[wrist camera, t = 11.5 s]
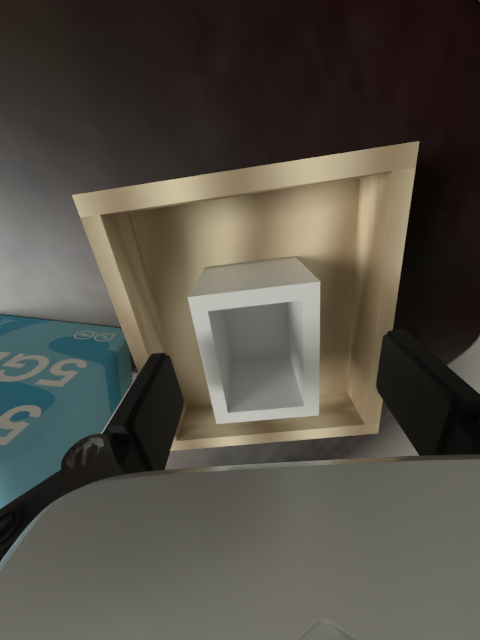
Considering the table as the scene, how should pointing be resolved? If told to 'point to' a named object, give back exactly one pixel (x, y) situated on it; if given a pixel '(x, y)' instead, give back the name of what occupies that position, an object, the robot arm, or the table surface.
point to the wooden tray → (260, 244)
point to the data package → (54, 393)
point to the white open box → (259, 339)
